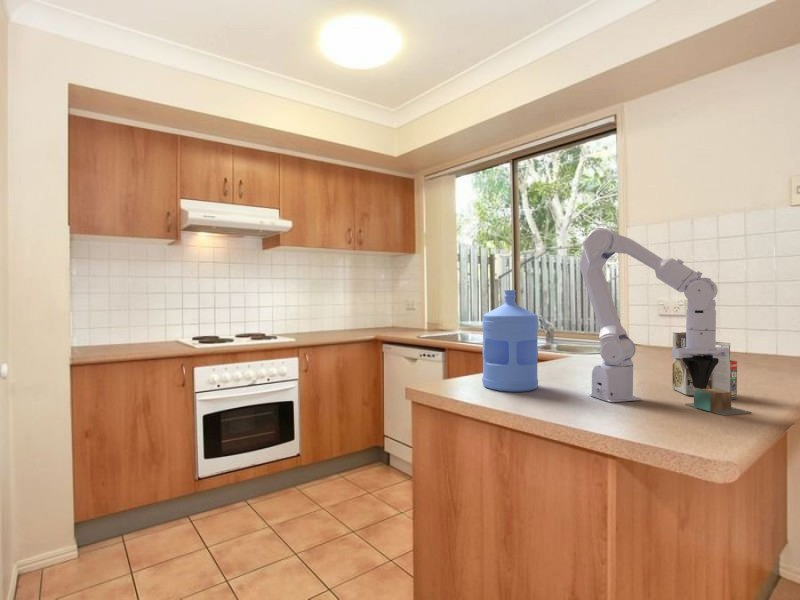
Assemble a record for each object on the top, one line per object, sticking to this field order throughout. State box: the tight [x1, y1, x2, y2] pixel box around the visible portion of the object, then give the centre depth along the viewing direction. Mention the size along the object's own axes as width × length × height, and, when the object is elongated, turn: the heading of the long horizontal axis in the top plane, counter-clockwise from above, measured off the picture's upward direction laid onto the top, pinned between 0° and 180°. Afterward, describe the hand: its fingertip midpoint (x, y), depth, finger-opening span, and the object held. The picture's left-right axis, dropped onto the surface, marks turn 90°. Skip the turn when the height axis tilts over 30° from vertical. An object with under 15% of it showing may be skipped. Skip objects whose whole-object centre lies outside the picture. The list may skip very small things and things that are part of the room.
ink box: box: [711, 341, 738, 400], centre depth 119 cm, size 4×8×15 cm, turn 27°
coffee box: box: [672, 331, 711, 396], centre depth 123 cm, size 9×6×16 cm
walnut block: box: [693, 389, 732, 412], centre depth 106 cm, size 4×4×6 cm
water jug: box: [481, 289, 539, 393], centre depth 131 cm, size 16×16×28 cm
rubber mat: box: [684, 402, 752, 417], centre depth 106 cm, size 8×10×1 cm
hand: (700, 388), depth 105 cm, fingers closed
